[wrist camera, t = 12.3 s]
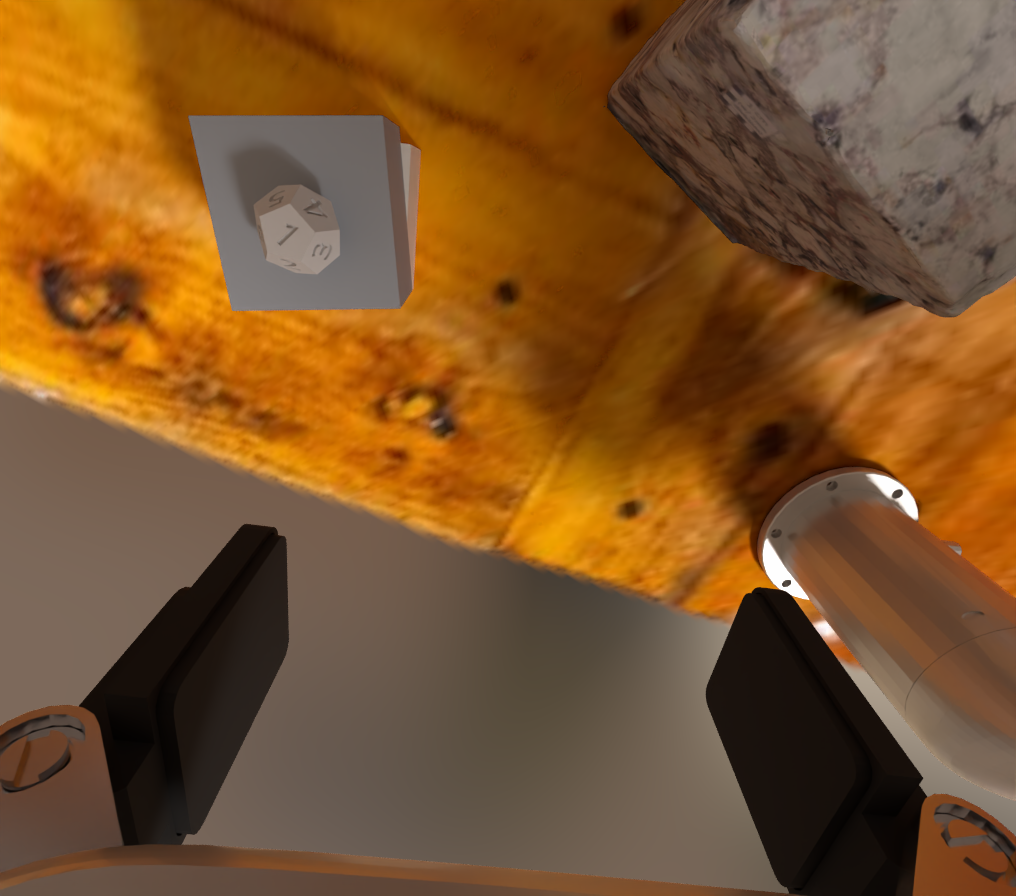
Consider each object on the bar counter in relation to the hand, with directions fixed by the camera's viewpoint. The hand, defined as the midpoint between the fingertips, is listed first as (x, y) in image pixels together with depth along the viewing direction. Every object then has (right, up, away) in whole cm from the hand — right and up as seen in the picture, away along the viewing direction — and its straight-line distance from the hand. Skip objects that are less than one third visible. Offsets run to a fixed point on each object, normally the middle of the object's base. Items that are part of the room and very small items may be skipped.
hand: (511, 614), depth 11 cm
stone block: (+11, +22, +21) cm, 33 cm away
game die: (-9, +13, +14) cm, 21 cm away
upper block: (-10, +16, +18) cm, 26 cm away
